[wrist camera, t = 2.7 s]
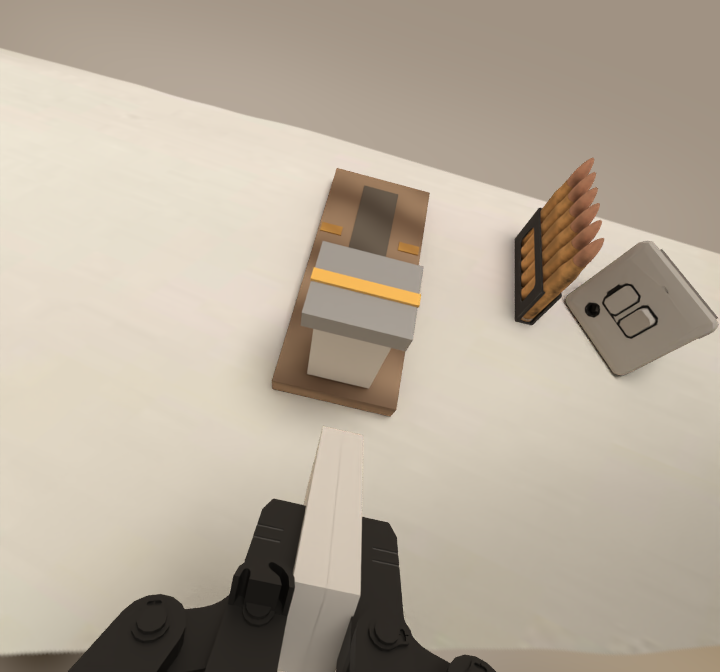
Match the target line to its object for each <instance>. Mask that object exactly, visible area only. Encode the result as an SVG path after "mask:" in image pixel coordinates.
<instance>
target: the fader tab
mask: <svg viewBox="0 0 720 672" xmlns="http://www.w3.org/2000/svg"><path fill="white" fill-rule="evenodd" d="M422 274H423V266H419V265H415V264H411V263H407V262H403V261H399V260H395V259H392V258H388V257H384V256H380V255H376V254H372V253H368V252H364V251H361V250H357V249H353V248H349V247H345V246H341V245H337V244H333V243H329V242H326V241H323V242H322V245H321V249H320V252H319V256H318V259H317V262H316V266H315V267H314V268H313V272H312V275H311V279H310V281H311V283H310V286H309V290H308V293H307V296H306V300H305V303H304V307H303V310H302V316H301V326H304V327H308V328H312V329H313V335H312V342H311V349H310V356H309V363H308V370H307V374H310V375H314V376H318V377H322V378H326V379H331V380H335V381H339V382H343V383H347V384H351V385H356V386H360V387H364V388H368V389H369V388H370V386H371V384H372V382H373V380H374V378H375V377H376V375H377V373H378V371H379V369H380V368H381V366H382V364H383V362H384V360H385V358H386V357H387V355H388V353H389V351H390V349H391V348H394V349H398V350H402V351H406V350H407V348H408V347H409V345H410V344H411V342H412V340H413V335H414V328H415V321H416V315H417V308H418V307H419V305H420V298H421V294H420V287H421V281H422Z"/></svg>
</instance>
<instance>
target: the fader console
mask: <svg viewBox="0 0 720 672" xmlns="http://www.w3.org/2000/svg"><path fill="white" fill-rule="evenodd" d="M429 194H430V193H428V192H425V191H421V190H417V189H413V188H410V187H406V186H402V185H399V184H395V183H391V182H387V181H384V180H380V179H376V178H372V177H369V176H365V175H361V174H358V173H354V172H350V171H346V170H343V169H339V168H337V169H336V173H335V176H334V179H333V182H332V186H331V189H330V192H329V195H328V199H327V202H326V205H325V209H324V212H323V215H322V218H321V222H320V225H319V228H318V232H317V235H316V238H315V241H314V245H313V248H312V251H311V254H310V258H309V261H308V264H307V268H306V271H305V274H304V277H303V281H302V284H301V287H300V291H299V294H298V297H297V300H296V304H295V307H294V310H293V313H292V317H291V320H290V323H289V327H288V330H287V333H286V336H285V340H284V343H283V346H282V350H281V353H280V356H279V359H278V363H277V366H276V369H275V372H274V376H273V379H272V387H273V389H276V390H280V391H284V392H288V393H293V394H297V395H301V396H305V397H310V398H314V399H318V400H322V401H327V402H331V403H335V404H339V405H344V406H348V407H352V408H357V409H361V410H365V411H369V412H374V413H378V414H382V415H386V416H391V415H392V414H393V413H394V412H395V410H396V408H397V401H398V395H399V388H400V382H401V375H402V369H403V362H404V356H405V351H402V350H398V349H394V348H391V349H390V351H389V353H388V355H387V357H386V358H385V360H384V362H383V364H382V366H381V368H380V369H379V371H378V373H377V375H376V377H375V378H374V380H373V382H372V384H371V386H370V388H369V389H368V388H364V387H360V386H356V385H351V384H347V383H343V382H339V381H335V380H331V379H326V378H322V377H318V376H314V375H310V374H307V370H308V363H309V356H310V349H311V342H312V335H313V329H312V328H308V327H304V326H301V316H302V310H303V307H304V303H305V300H306V296H307V293H308V290H309V286H310V283H311V281H310V279H311V275H312V272H313V268H314V267H315V266H316V262H317V259H318V256H319V252H320V249H321V245H322V242H323V241H326V242H329V243H333V244H337V245H341V246H345V247H349V248H353V249H357V250H361V251H364V252H368V253H372V254H376V255H380V256H384V257H388V258H392V259H395V260H399V261H403V262H407V263H411V264H415V265H419V259H420V252H421V246H422V239H423V233H424V226H425V220H426V213H427V207H428V200H429Z"/></svg>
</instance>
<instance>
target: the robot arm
mask: <svg viewBox="0 0 720 672" xmlns="http://www.w3.org/2000/svg"><path fill="white" fill-rule="evenodd" d="M362 483H363V435H360V434H355V433H351V432H347V431H342V430H338V429H334V428H329V427H325V426H323V428H322V432H321V436H320V440H319V444H318V448H317V452H316V456H315V459H314V463H313V467H312V471H311V475H310V479H309V483H308V487H307V492H306V496H305V501H304V505H300V504H296V503H291V502H287V501H282V500H278V499H272V500H271V501H270V502H269V503H268V504H267V505H266V506H265V507H264V508H263V509H262V512H261V515H260V518H259V521H258V524H257V527H256V529H255V532H254V536H253V538H252V541H251V544H250V547H249V550H248V553H247V556H246V559H245V562H244V563H243V564H242V565H240V566H239V568H238V569H237V571H236V572H235V574H234V576H233V581H232V586H231V591H230V594H229V595H228V596H227V597H226V598H224V599H223V600H222V601H220V602H218V603H216V604H213V605H211V606H206V607H201V608H193V609H184V608H183V605H182V604H181V603H180V602H179V601H177V600H176V599H175V598H174V597H171V596H167V595H162V594H158V595H149V596H146V597H143V598H141V599H139V600H136V601H134V602H133V603H132V604H130V605H129V606H128V607H127V608H126V609H124V610H123V611H122V612H121V613H120V615H119V616H118V617H117V618H116V619H115V620H114V621H113V622H112V623H111V624H110V626H109V627H108V628H107V629H106V630H105V631H104V632H103V633H102V634H101V636H100V637H99V638H98V639H97V640H96V641H95V642H94V643H93V644H92V645H91V647H90V648H89V649H88V650H87V651H86V652H85V653H84V654H83V656H82V657H81V658H80V659H79V660H78V661H77V662H76V663H75V664H74V665H73V666H72V668H71V669H70V670H69V671H68V672H277V670H279V671H284V672H335V671H336V672H496V671H495V670H494V669H493V668H492V667H491V666H490V665H489V664H487V663H486V662H484V661H483V660H481V659H479V658H477V657H475V656H469V655H462V656H459V657H456V658H455V659H454V660H453V661H452V662H451V663H448V662H447V661H445V660H443V659H442V658H440V657H438V656H436V655H434V654H433V653H431V652H429V651H428V650H426V649H425V648H423V647H422V646H421V645H420V644H419V643H418V642H417V641H416V640H415V639H414V638H413V636H412V634H411V630H410V629H409V627H408V626H407V624H406V623H405V620H404V615H403V605H402V593H401V582H400V570H399V558H398V547H397V537H396V535H395V533H394V531H393V529H392V528H391V526H390V524H389V523H388V522H383V521H379V520H374V519H369V518H365V517H362Z"/></svg>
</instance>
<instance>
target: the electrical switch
mask: <svg viewBox="0 0 720 672" xmlns="http://www.w3.org/2000/svg"><path fill="white" fill-rule="evenodd" d="M566 304H567V305H568V307H569V308H570V310H571V311H572V313H573V314H574V316H575V317H576V319H577V320H578V321H579V323H580V324H581V326H582V327H583V329H584V330H585V332H586V333H587V335H588V336H589V338H590V339H591V341H592V342H593V344H594V345H595V347H596V348H597V349H598V351H599V352H600V354H601V355H602V357H603V358H604V360H605V361H606V363H607V364H608V366H609V367H610V369H611V370H612V372H613V373H615V374H617V375H625V374H628V373H631V372H633V371H635V370H637V369H638V368H640V367H642V366H644V365H646V364H648V363H650V362H652V361H654V360H656V359H658V358H660V357H662V356H664V355H666V354H668V353H670V352H672V351H674V350H676V349H678V348H680V347H682V346H684V345H686V344H688V343H690V342H692V341H694V340H696V339H698V338H699V339H700V338H702V337H704V336H706V335H709V334H710V333H712V332H714V331H715V330H716V328H717V327H718V325H719V323H718V322H717V320H716V319H717V318H718V317H717V316H716V315H715V314H714V312H713V311H712V310H711V309H710V307H709V306H708V305H707V304H706V302H705V301H704V300H703V299H702V298H701V296H700V295H699V294H698V293H697V291H696V290H695V289H694V288H693V287H692V285H691V284H690V283H689V282H688V280H687V279H686V278H685V277H684V275H683V274H682V273H681V272H680V271H679V269H678V268H677V267H676V266H675V264H674V263H673V262H672V261H671V260H670V258H669V257H668V256H667V255H666V253H665V252H664V251H663V250H662V249H661V250H659V248H658V247H657V246H656V245H655V243H654V242H652V241H644V242H640V243H638V244H637V245H635V246H634V247H632V248H631V249H630V250H628V251H627V252H626V253H624V254H623V255H622V256H620V257H619V258H618V259H616V260H615V261H613V262H612V263H611V264H609V265H608V266H607V267H605V268H604V269H603V270H601V271H600V272H598V273H597V274H596V275H594V276H593V277H592V278H590V279H589V280H588V281H586V282H585V283H584V284H582V285H581V286H579V287H578V288H577V289H575V290H574V291H573V292H571V293H570V294H569V295H567V298H566Z"/></svg>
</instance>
